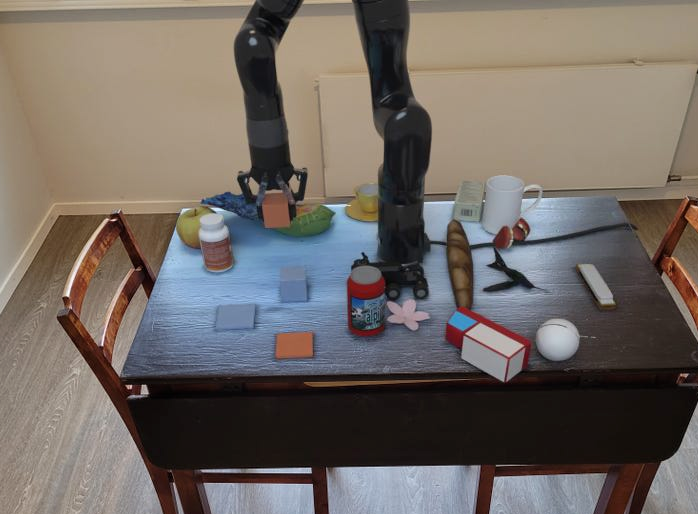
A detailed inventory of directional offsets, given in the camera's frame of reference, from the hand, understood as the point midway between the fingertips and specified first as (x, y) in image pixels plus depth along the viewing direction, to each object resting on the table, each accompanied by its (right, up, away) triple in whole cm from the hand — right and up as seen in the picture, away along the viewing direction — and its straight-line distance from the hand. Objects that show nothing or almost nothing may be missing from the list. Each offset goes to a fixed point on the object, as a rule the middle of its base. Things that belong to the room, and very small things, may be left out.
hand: (278, 219), depth 140 cm
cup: (+19, +7, +24) cm, 31 cm away
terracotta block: (0, 0, 0) cm, 0 cm away
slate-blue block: (+4, -15, -2) cm, 16 cm away
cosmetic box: (+41, +5, +17) cm, 44 cm away
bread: (+37, -10, +3) cm, 38 cm away
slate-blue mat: (-7, -20, -8) cm, 23 cm away
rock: (-9, +10, +10) cm, 17 cm away
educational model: (-3, +8, +18) cm, 20 cm away
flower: (+25, -21, -9) cm, 34 cm away
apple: (-17, -3, +13) cm, 22 cm away
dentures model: (+46, -4, +7) cm, 46 cm away
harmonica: (+62, -14, -3) cm, 64 cm away
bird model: (+47, -8, +3) cm, 48 cm away
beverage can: (+17, -23, -11) cm, 31 cm away
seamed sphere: (+49, -27, -24) cm, 61 cm away
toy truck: (+40, -24, -18) cm, 50 cm away
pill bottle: (-13, -9, +7) cm, 17 cm away
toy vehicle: (+22, -14, -2) cm, 27 cm away
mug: (+50, +1, +16) cm, 53 cm away
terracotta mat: (+5, -26, -15) cm, 30 cm away
